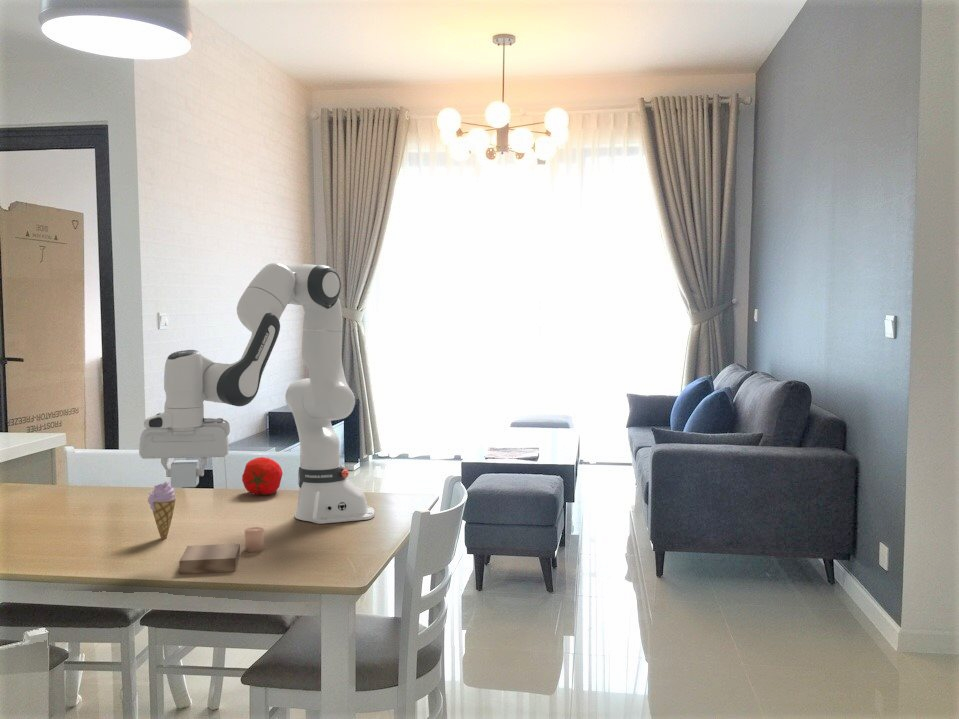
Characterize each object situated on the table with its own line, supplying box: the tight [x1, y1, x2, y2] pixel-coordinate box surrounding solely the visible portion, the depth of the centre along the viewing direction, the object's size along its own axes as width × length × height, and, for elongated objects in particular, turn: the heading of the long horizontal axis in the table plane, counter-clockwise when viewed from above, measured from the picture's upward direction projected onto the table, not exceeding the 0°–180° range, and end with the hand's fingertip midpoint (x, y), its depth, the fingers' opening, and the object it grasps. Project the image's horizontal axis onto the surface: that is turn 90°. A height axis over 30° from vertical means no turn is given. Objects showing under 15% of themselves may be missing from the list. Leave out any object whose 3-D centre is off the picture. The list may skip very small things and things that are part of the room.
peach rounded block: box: [244, 526, 265, 553], centre depth 211 cm, size 5×5×5 cm
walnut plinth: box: [179, 543, 241, 575], centre depth 199 cm, size 12×12×3 cm
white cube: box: [170, 459, 200, 489], centre depth 205 cm, size 6×6×6 cm
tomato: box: [241, 456, 283, 496], centre depth 272 cm, size 13×13×13 cm
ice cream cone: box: [147, 480, 177, 540], centre depth 220 cm, size 7×6×15 cm
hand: (185, 476), depth 205 cm, fingers closed on white cube, 5 cm apart
